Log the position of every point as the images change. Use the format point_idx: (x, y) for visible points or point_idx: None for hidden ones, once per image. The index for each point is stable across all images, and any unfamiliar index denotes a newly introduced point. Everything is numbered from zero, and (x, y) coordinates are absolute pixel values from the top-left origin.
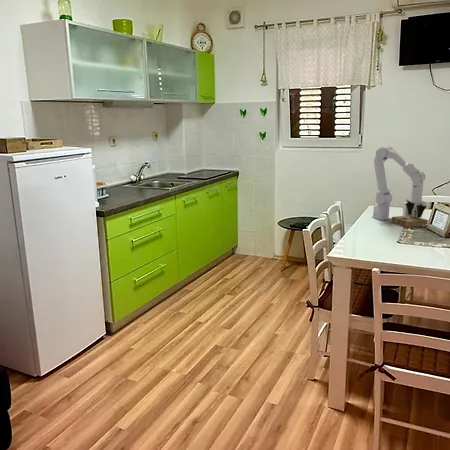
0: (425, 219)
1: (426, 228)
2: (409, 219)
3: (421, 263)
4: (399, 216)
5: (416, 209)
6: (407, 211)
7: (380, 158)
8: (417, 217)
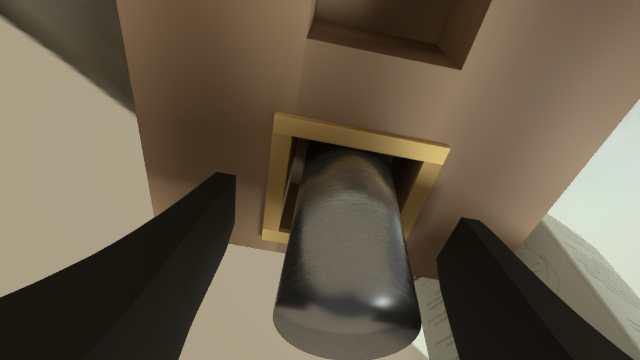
0: None
1: (63, 57)
2: (300, 6)
3: None
4: (627, 79)
5: (335, 352)
6: None
7: None
8: None
